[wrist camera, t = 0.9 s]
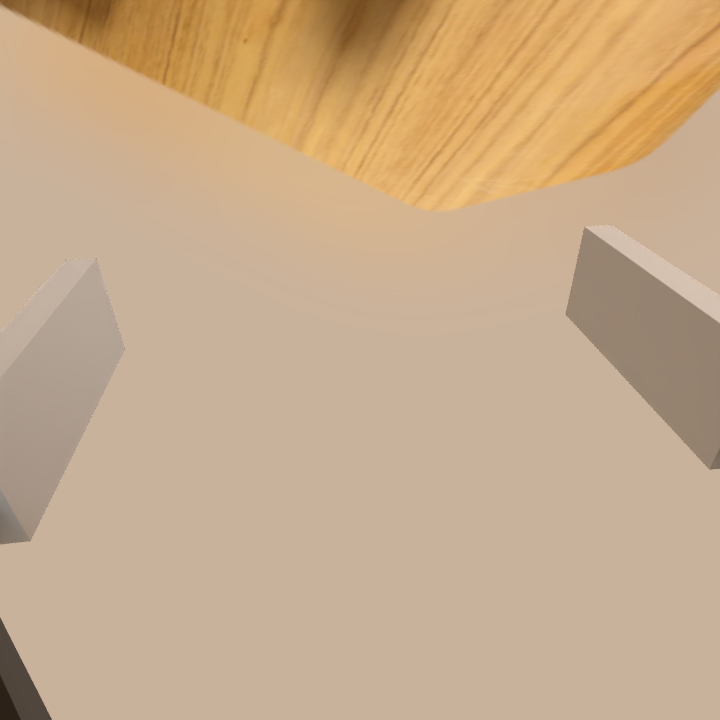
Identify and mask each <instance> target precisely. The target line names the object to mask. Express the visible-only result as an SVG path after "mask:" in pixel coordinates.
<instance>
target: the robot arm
mask: <svg viewBox="0 0 720 720" xmlns="http://www.w3.org/2000/svg"><path fill="white" fill-rule="evenodd" d="M566 315H567V316H568V317H569V319H570V320H571V321H572V322H573V323H574V324H575V325H576V326H577V327H578V328H579V329H580V330H581V332H582V333H583V334H584V335H585V336H586V337H587V338H588V339H589V340H590V341H591V342H592V343H593V344H594V346H595V347H596V348H597V349H598V350H599V351H600V352H601V353H602V354H603V355H604V356H605V357H606V358H607V359H608V361H609V362H610V363H611V364H612V365H613V366H614V367H615V368H616V369H617V370H618V371H619V372H620V373H621V375H622V376H623V377H624V378H625V379H626V380H627V381H628V382H629V383H630V384H631V385H632V386H633V387H634V389H635V390H636V391H637V392H638V393H639V394H640V395H641V396H642V397H643V398H644V399H645V400H646V402H647V403H648V404H649V405H650V406H651V407H652V408H653V409H654V410H655V411H656V412H657V413H658V414H659V416H660V417H661V418H662V419H663V420H664V421H665V422H666V423H667V424H668V425H669V426H670V427H671V428H672V430H673V431H674V432H675V433H676V434H677V435H678V436H679V437H680V438H681V439H682V440H683V441H684V442H685V443H686V445H687V446H688V447H689V448H690V449H691V450H692V451H693V452H694V453H695V454H696V455H697V456H698V458H700V460H701V461H702V462H703V463H704V464H705V465H706V466H707V467H708V468H709V469H718V468H720V296H719V295H718V294H716V293H715V292H713V291H712V290H710V289H709V288H707V287H706V286H704V285H702V284H701V283H699V282H698V281H696V280H695V279H693V278H691V277H690V276H689V275H687V274H685V273H684V272H682V271H681V270H679V269H678V268H676V267H675V266H673V265H671V264H670V263H668V262H667V261H665V260H664V259H662V258H661V257H659V256H658V255H656V254H655V253H653V252H651V251H650V250H648V249H647V248H645V247H644V246H642V245H641V244H639V243H638V242H636V241H634V240H633V239H631V238H630V237H628V236H627V235H625V234H624V233H622V232H621V231H619V230H617V229H616V228H614V227H613V226H611V225H605V226H588V227H584V231H583V236H582V240H581V245H580V250H579V254H578V259H577V264H576V269H575V273H574V278H573V282H572V287H571V292H570V296H569V302H568V306H567V310H566ZM124 350H125V347H124V344H123V341H122V337H121V334H120V331H119V328H118V325H117V322H116V319H115V316H114V312H113V309H112V306H111V303H110V300H109V297H108V294H107V291H106V287H105V284H104V282H103V278H102V275H101V272H100V269H99V265H98V262H97V259H80V260H65V261H64V263H63V264H62V265H61V266H60V267H59V268H58V269H57V270H56V271H55V272H54V273H53V275H52V276H51V277H50V278H49V279H48V280H47V281H46V282H45V283H44V284H43V285H42V287H41V288H40V289H39V290H38V291H37V292H36V293H35V294H34V295H33V296H32V297H31V299H30V300H29V301H28V302H27V303H26V304H25V305H24V306H23V307H22V308H21V309H20V310H19V312H18V313H17V314H16V315H15V316H14V317H13V318H12V319H11V320H10V321H9V322H8V324H7V325H6V326H5V327H4V328H3V329H2V330H1V331H0V544H7V543H17V542H27V541H31V539H32V536H33V535H34V532H35V531H36V528H37V527H38V525H39V522H40V520H41V518H42V516H43V514H44V512H45V510H46V508H47V506H48V504H49V502H50V500H51V498H52V496H53V494H54V492H55V490H56V488H57V486H58V484H59V482H60V480H61V478H62V476H63V474H64V471H65V470H66V468H67V466H68V464H69V462H70V460H71V458H72V456H73V454H74V452H75V450H76V447H77V446H78V443H79V441H80V439H81V437H82V435H83V433H84V431H85V429H86V427H87V425H88V423H89V421H90V419H91V417H92V415H93V413H94V411H95V409H96V407H97V405H98V403H99V401H100V399H101V397H102V395H103V393H104V391H105V389H106V387H107V385H108V383H109V380H110V378H111V376H112V375H113V372H114V371H115V369H116V366H117V364H118V362H119V360H120V358H121V356H122V354H123V352H124ZM0 720H52V719H51V717H50V715H49V713H48V711H47V709H46V707H45V705H44V703H43V701H42V699H41V698H40V695H39V693H38V691H37V689H36V687H35V685H34V684H33V682H32V680H31V678H30V676H29V674H28V672H27V670H26V668H25V666H24V664H23V662H22V660H21V658H20V656H19V654H18V652H17V650H16V648H15V646H14V644H13V642H12V640H11V638H10V636H9V634H8V632H7V630H6V628H5V626H4V624H3V622H2V620H1V618H0Z"/></svg>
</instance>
